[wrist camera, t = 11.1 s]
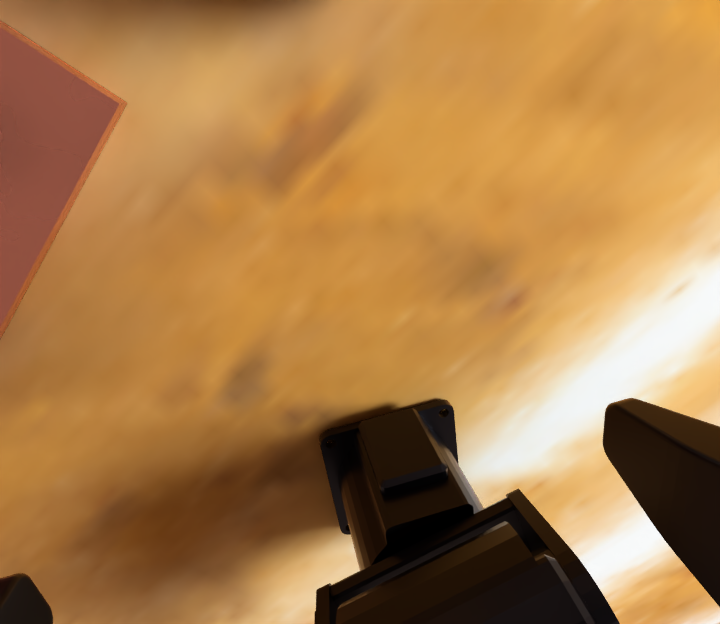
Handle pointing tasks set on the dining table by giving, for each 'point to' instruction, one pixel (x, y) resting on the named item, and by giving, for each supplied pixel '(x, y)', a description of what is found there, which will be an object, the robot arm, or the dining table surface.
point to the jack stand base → (42, 154)
